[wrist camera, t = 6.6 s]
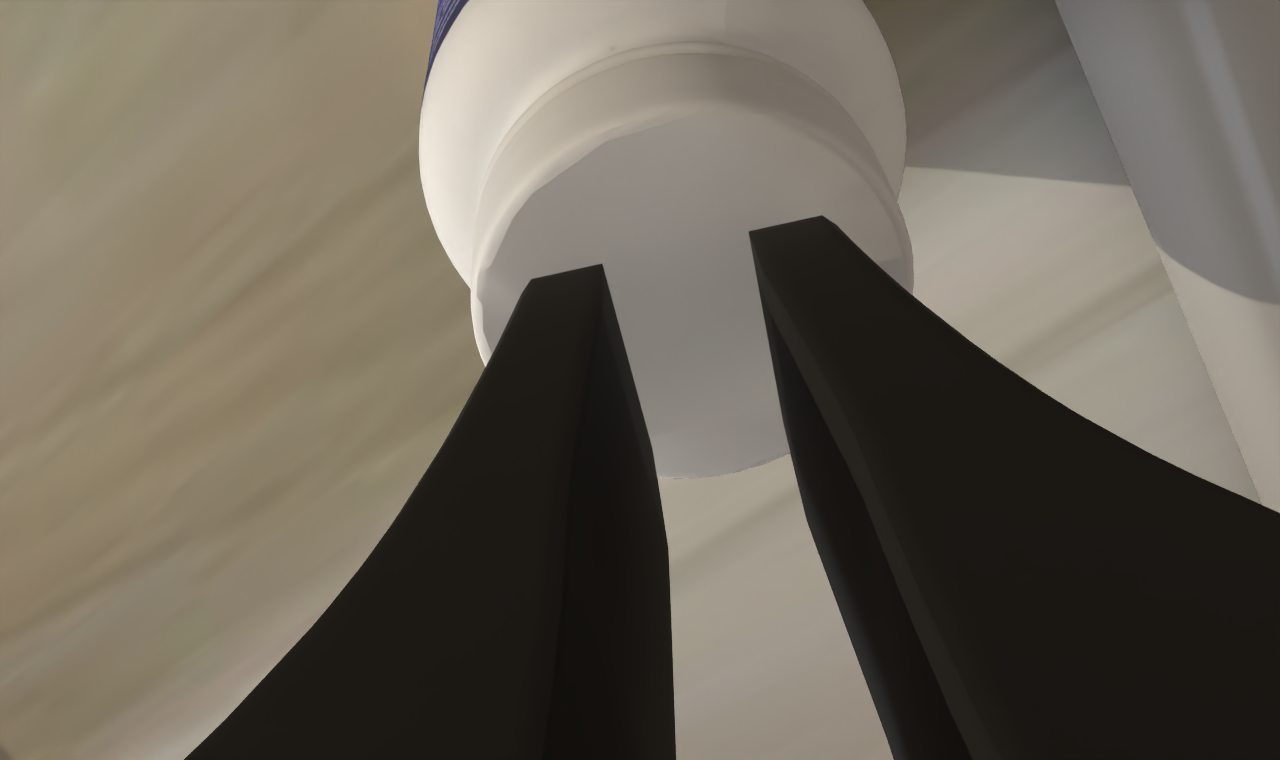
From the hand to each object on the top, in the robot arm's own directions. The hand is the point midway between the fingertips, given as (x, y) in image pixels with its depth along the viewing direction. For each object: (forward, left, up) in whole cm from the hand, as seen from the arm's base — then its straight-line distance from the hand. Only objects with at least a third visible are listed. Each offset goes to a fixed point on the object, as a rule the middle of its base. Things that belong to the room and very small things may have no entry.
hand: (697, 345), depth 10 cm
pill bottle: (0, 0, -10) cm, 10 cm away
